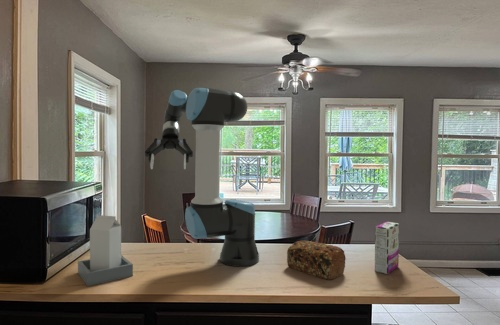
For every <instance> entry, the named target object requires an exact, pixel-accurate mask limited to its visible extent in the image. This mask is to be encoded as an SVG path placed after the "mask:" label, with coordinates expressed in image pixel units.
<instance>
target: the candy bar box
mask: <svg viewBox="0 0 500 325" xmlns="http://www.w3.org/2000/svg"><path fill="white" fill-rule="evenodd" d="M374 228H375V229H374V272H376V273H380V274H385V275H389V274H391V273H392V272H393V271H395V270H396V268H398V267H399V256H400V255H399V252H400V251H399V250H400V249H399V248H400V247H399V246H400V245H399V244H400V243H399V242H400V239H399V238H400V223H398V222H393V221H385V222H383V223H382V222H381V224H378V225H376V226H374Z"/></svg>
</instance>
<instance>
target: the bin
mask: <svg viewBox="0 0 500 325" xmlns="http://www.w3.org/2000/svg"><path fill="white" fill-rule="evenodd" d="M133 265H134V264H133V263H132V262H130V260H128V259H127V258H126V257H125V256H124V255H122V254H121V266H117V267H112V268H107V269H102V270H97V271H92V272H90V258H88V259H83V260H78V261H77V274H78V275H79V276H80V278H81V279H82V281H83V282H84V284H85V285H86V286H87V287H91V286H95V285H99V284H103V283H109V282H113V281H117V280H122V279H125V278H130V277H133V276H134V271H133V269H134V266H133Z"/></svg>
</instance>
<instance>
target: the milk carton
mask: <svg viewBox="0 0 500 325" xmlns="http://www.w3.org/2000/svg"><path fill="white" fill-rule="evenodd" d="M95 217H96V218H95V220H94V222H93V223H92V225H91V227H90V228H89V259H90V272H92V271H97V270H102V269H107V268H112V267H117V266H121V255H122V225H121V224H120V223H119V222H118V220H117V219H116V218H117V217H116V216H114V215H99V214H97V215H95Z"/></svg>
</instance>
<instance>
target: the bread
mask: <svg viewBox="0 0 500 325" xmlns="http://www.w3.org/2000/svg"><path fill="white" fill-rule="evenodd" d="M286 255H287V256H286V263H287V267H288V268H290V269H293V270H296V271H299V272H303V273H305V274H308V275H311V276H314V277H317V278H320V279H325V280H334V279H336V278H338V277H341V276H343V274H344V271H345V268H346V259H347V258H346V254H345V250H343V248H341V247H339V246H336V245H332V244H327V243H323V242H315V241H310V240H299V241H294V243H292V245H290V246H289V247H288V248H287V251H286Z"/></svg>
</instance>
